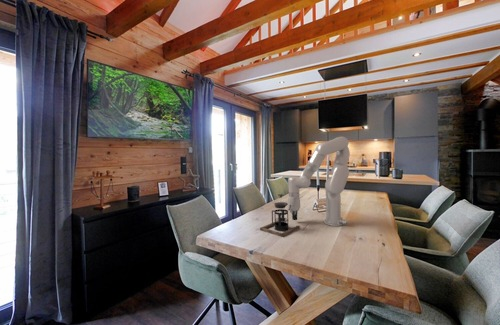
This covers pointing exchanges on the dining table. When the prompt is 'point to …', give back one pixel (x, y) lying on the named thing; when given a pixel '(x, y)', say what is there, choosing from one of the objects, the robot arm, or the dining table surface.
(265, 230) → the walnut bay
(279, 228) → the french press
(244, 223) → the dining table surface
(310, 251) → the dining table surface
